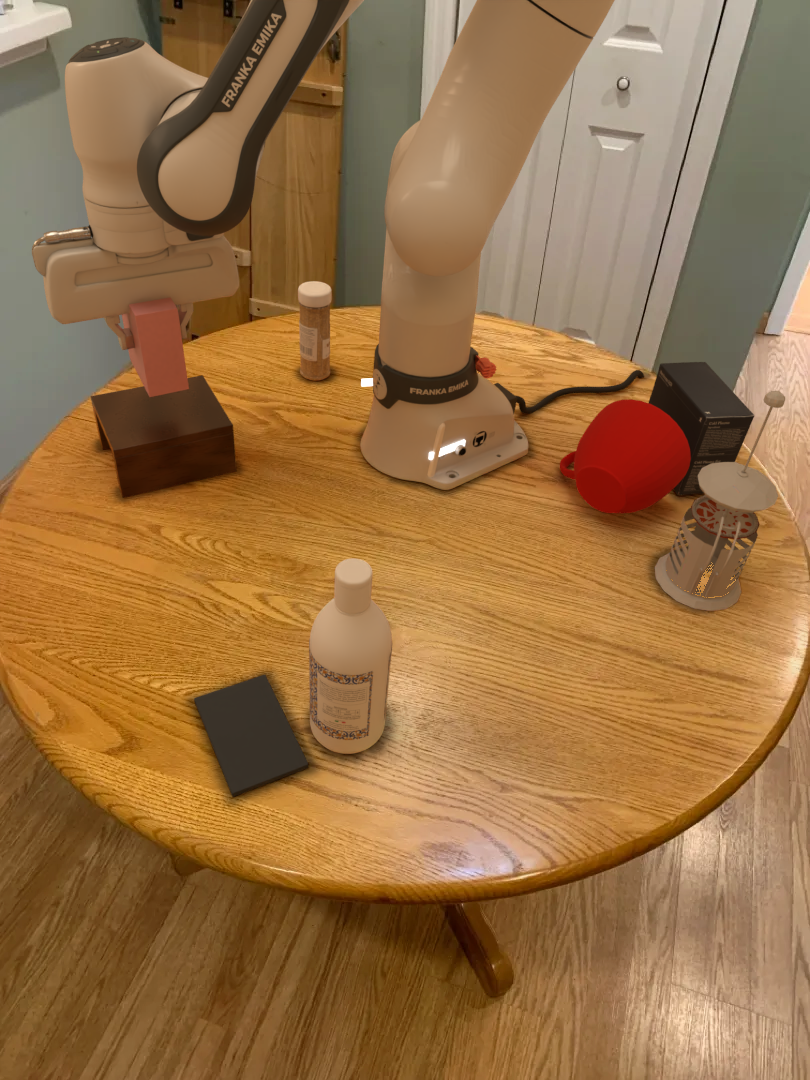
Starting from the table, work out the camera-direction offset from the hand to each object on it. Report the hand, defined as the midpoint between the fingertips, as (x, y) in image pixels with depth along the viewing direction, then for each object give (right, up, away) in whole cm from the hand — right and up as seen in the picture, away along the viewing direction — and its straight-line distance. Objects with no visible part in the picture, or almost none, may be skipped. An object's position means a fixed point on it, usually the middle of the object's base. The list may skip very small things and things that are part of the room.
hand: (154, 342), depth 96 cm
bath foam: (+23, -40, -17) cm, 49 cm away
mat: (+14, -40, -19) cm, 47 cm away
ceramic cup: (+50, -17, +5) cm, 53 cm away
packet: (0, -3, +3) cm, 4 cm away
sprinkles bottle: (+15, +2, +28) cm, 32 cm away
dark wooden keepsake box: (-1, -12, +11) cm, 16 cm away
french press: (+62, -28, 0) cm, 67 cm away
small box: (+65, -13, +18) cm, 69 cm away
